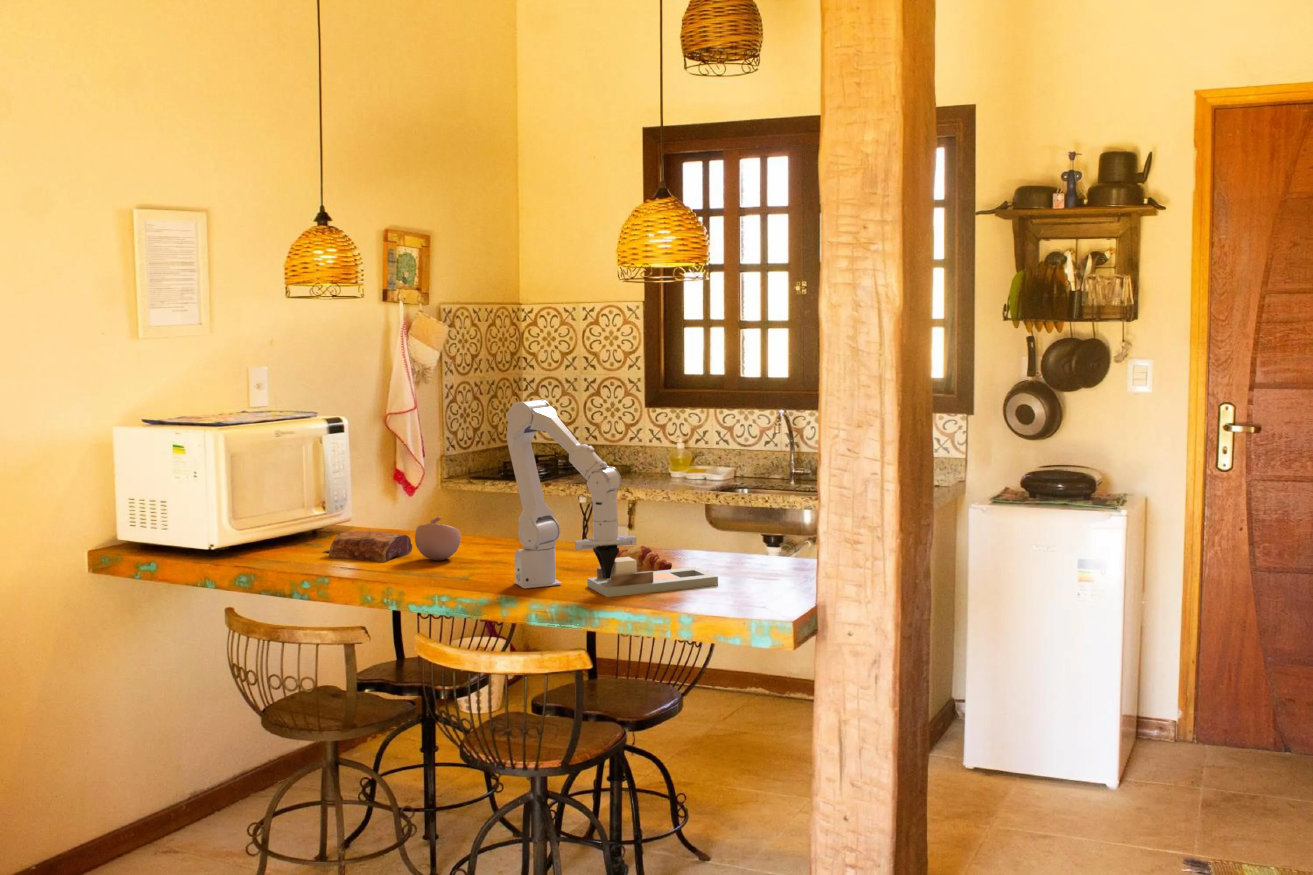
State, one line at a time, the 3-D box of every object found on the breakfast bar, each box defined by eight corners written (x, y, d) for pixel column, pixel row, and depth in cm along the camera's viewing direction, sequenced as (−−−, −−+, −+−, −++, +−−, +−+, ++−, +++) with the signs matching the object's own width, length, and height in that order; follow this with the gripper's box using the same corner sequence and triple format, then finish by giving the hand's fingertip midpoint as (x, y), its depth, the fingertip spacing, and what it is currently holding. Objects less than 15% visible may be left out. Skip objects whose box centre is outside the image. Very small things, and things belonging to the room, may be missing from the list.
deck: (606, 597, 291) (606, 588, 290) (587, 586, 303) (587, 578, 302) (718, 584, 301) (717, 576, 301) (695, 574, 313) (695, 566, 313)
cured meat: (345, 546, 363) (343, 522, 363) (421, 550, 354) (420, 526, 354) (306, 559, 347) (304, 534, 346) (385, 564, 338) (383, 539, 337)
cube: (616, 583, 296) (616, 562, 295) (609, 579, 300) (608, 558, 300) (636, 581, 297) (636, 560, 297) (629, 577, 302) (628, 556, 302)
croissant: (598, 581, 325) (588, 556, 321) (620, 557, 331) (609, 533, 328) (665, 589, 312) (655, 563, 308) (686, 564, 319) (676, 538, 315)
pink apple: (466, 555, 345) (464, 513, 343) (455, 564, 333) (453, 520, 332) (422, 555, 346) (421, 513, 345) (410, 564, 334) (408, 521, 333)
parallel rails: (613, 586, 292) (612, 575, 292) (597, 578, 302) (596, 567, 302) (653, 582, 296) (653, 571, 296) (636, 574, 306) (636, 563, 306)
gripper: (581, 525, 289) (582, 584, 291) (640, 519, 295) (642, 577, 296) (571, 520, 296) (572, 578, 297) (629, 515, 301) (630, 572, 303)
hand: (606, 577), depth 297 cm, fingers closed
